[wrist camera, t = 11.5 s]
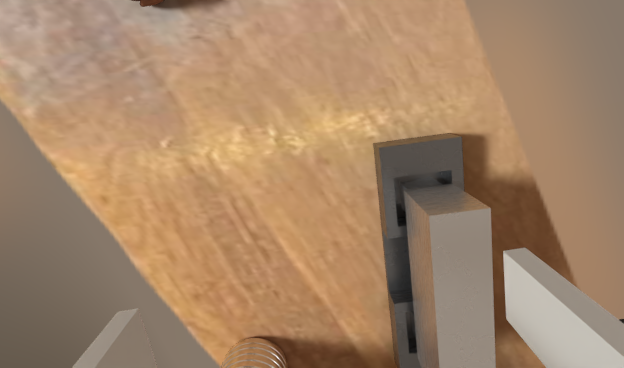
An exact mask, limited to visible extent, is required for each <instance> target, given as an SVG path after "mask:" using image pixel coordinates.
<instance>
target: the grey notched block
mask: <svg viewBox="0 0 624 368" xmlns="http://www.w3.org/2000/svg"><path fill="white" fill-rule="evenodd" d="M399 184H400V196H401V207H402V208H403V210H404V211H405V212H406V223H407V235H408V247H409V259H410V271H411V283H412V295H413V307H414V311H411V312H410V314H411V325H412V330H413V333H414V335H415V337H416V344H417V356H418V360H419V362H420V365H421V367H422V368H496V362H495V329H494V296H493V264H492V231H491V208H490V207H488V206H487V205H485V204H484V203H482V202H480V201H479V200H477V199H476V198H474V197H473V196H471V195H469V194H468V193H466V192H465V191H463V190H461V189H460V188H458V187H457V186H455V185H454V184H446V185H442V184H441V183H439V182H438V181H436V180H435V179H434V178H432V177H429V178H422V179H414V180H406V181H399Z"/></svg>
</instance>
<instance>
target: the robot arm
mask: <svg viewBox="0 0 624 368" xmlns="http://www.w3.org/2000/svg"><path fill="white" fill-rule="evenodd" d="M503 258H504V281H505V303H506V319H507V321H508V322H509V323H510V324H511V325H512V327H513V328H514V329H515V330H516V331H517V333H518V334H519V335H520V336H521V338H522V339H523V340H524V341H525V342H526V344H527V345H528V346H529V347H530V348H531V350H532V351H533V352H534V353H535V354H536V356H537V357H538V358H539V359H540V361H541V362H542V363H543V364H544V365H545V367H546V368H624V319H620V320H618V319H617V318H615V317H614V316H613V315H612V314H610V313H609V312H608V311H607V310H605V309H604V308H603V307H601V306H600V305H599V304H598V303H596V302H595V301H594V300H592V299H591V298H590V297H588V296H587V295H586V294H585V293H583V292H582V291H581V290H579V289H578V288H577V287H576V286H574V285H573V284H572V283H570V282H569V281H568V280H567V279H565V278H564V277H563V276H561V275H560V274H559V273H557V272H556V271H555V270H554V269H552V268H551V267H550V266H548V265H547V264H546V263H545V262H543V261H542V260H541V259H539V258H538V257H537V256H536V255H534V254H533V253H532V252H530V251H529V250H528V249H526V248H519V249H513V250H506V251H503ZM72 368H158V367H157V364H156V361H155V358H154V355H153V352H152V349H151V346H150V342H149V339H148V336H147V333H146V330H145V327H144V324H143V321H142V318H141V315H140V312H139V309H132V310H126V311H119V312H117V313H116V315H115V316H114V317H113V318H112V320H111V321H110V322H109V323H108V324H107V326H106V327H105V328H104V329H103V331H102V332H101V333H100V334H99V335H98V337H97V338H96V339H95V340H94V341H93V343H92V344H91V345H90V346H89V348H88V349H87V350H86V352H84V354H83V355H82V356H81V357H80V359H79V360H78V361H77V362H76V363H75V365H74V366H73V367H72Z"/></svg>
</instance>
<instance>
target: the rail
mask: <svg viewBox="0 0 624 368" xmlns="http://www.w3.org/2000/svg"><path fill="white" fill-rule="evenodd" d="M373 145H374V155H375V166H376V176H377V186H378V196H379V206H380V216H381V226H382V237H383V247H384V257H385V267H386V277H387V287H388V298H389V308H390V318H391V328H392V338H393V348H394V359H395V362H396V365H397V368H422V367H421V365H420V362H419V360H418V356H417V344H416V337H415V335H414V333H413V330H412V325H411V314H410V312H411V311H414V307H413V295H412V283H411V271H410V259H409V247H408V235H407V223H406V212H405V211H404V210H403V208H402V207H401V196H400V184H399V181H406V180H414V179H422V178H429V177H432V178H434V179H435V180H436V181H438V182H439V183H441V184H442V185H446V184H454V185H455V186H457V187H458V188H460V189H461V190H463V191H464V173H463V152H462V137H461V136H458V135H454V134H451V133H447V134H439V135H432V136H424V137H417V138H409V139H402V140H394V141H387V142H379V143H373Z"/></svg>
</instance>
